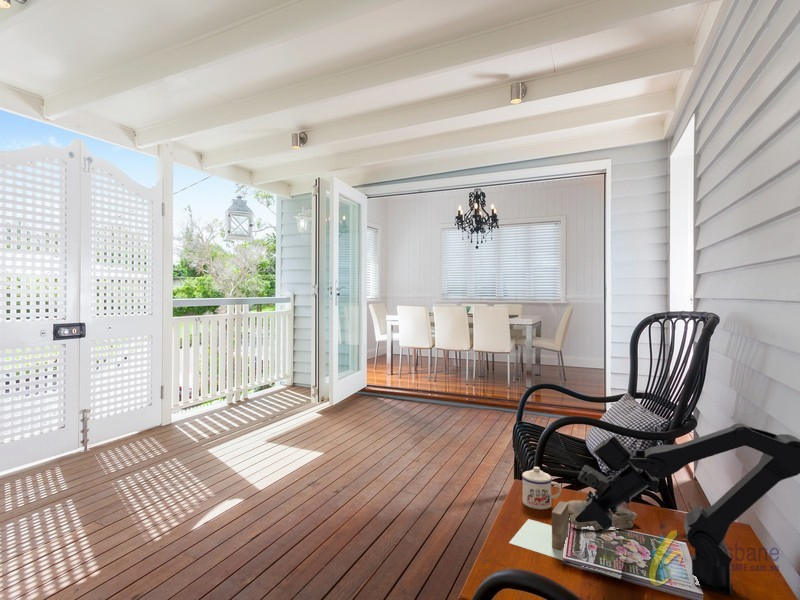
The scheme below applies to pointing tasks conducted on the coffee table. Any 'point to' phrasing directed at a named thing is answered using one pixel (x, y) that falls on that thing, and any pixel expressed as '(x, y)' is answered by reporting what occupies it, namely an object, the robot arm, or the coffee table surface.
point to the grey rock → (620, 520)
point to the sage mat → (541, 541)
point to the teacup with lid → (538, 489)
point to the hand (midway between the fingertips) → (576, 520)
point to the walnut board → (560, 525)
